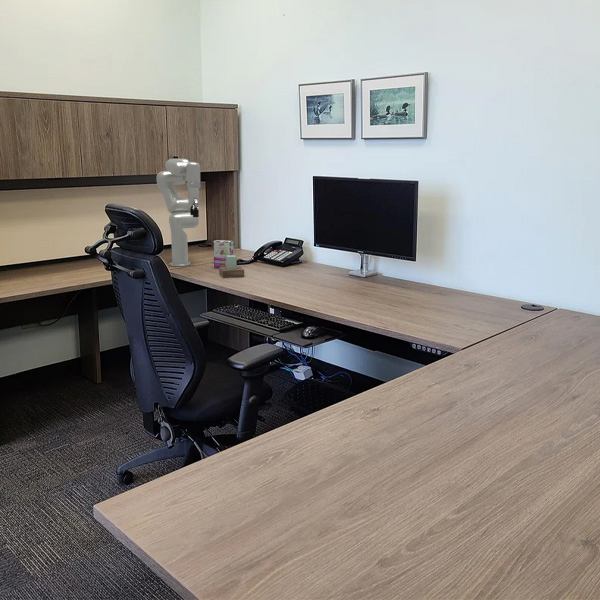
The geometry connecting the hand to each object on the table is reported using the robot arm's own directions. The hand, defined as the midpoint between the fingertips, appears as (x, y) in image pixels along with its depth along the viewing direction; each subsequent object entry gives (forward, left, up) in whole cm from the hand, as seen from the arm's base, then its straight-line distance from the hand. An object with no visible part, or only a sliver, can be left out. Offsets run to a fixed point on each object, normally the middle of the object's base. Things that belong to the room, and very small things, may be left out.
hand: (194, 216), depth 351 cm
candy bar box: (-10, +18, -32) cm, 38 cm away
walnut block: (+13, +18, -32) cm, 39 cm away
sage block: (+13, +18, -28) cm, 36 cm away
